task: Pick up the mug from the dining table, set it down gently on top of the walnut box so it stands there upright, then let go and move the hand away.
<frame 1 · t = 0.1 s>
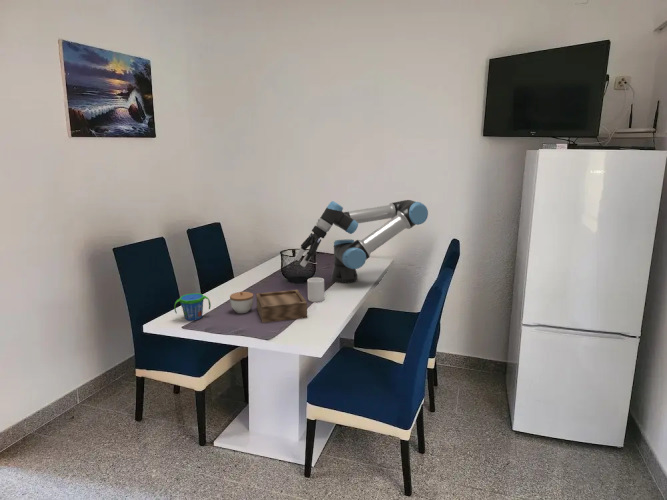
hand: (299, 262, 252), 15 cm above the table, tool tilted 35°, fingers open, 13 cm apart
snack cup: (193, 318, 217), on the table
mug: (317, 299, 242), on the table
lidded jar: (242, 311, 226), on the table
walnut box: (281, 312, 223), on the table
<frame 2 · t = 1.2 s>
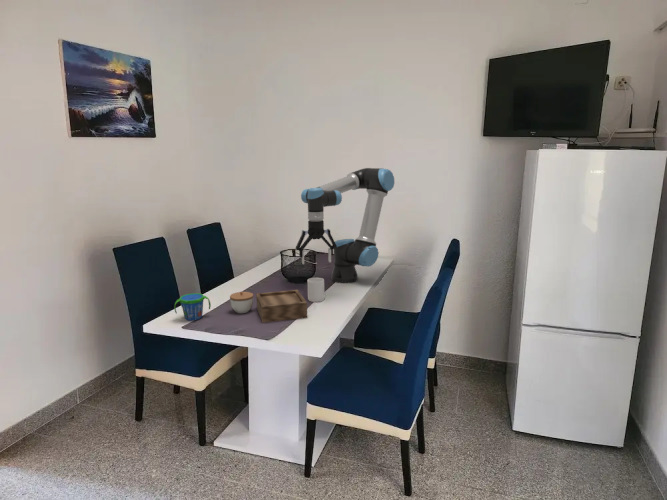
hand: (316, 262, 238), 19 cm above the table, tool pointing down, fingers open, 13 cm apart
nothing on the table moved.
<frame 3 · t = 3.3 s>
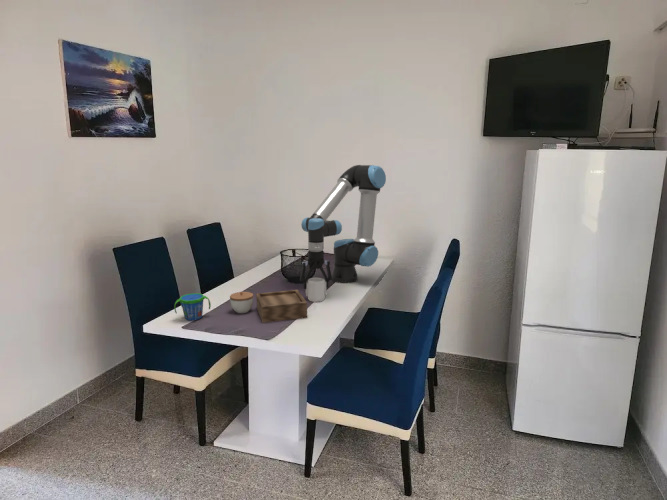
hand: (315, 294, 241), 2 cm above the table, tool pointing down, fingers closed on mug, 9 cm apart
mug: (317, 298, 242), on the table, touching gripper
everything else where it was.
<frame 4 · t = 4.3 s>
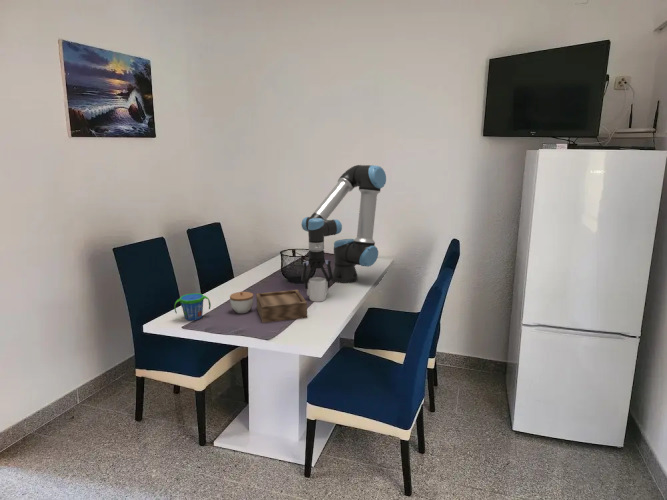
hand: (317, 294, 242), 2 cm above the table, tool pointing down, fingers closed on mug, 9 cm apart
mug: (319, 298, 243), on the table, touching gripper
everything else where it was.
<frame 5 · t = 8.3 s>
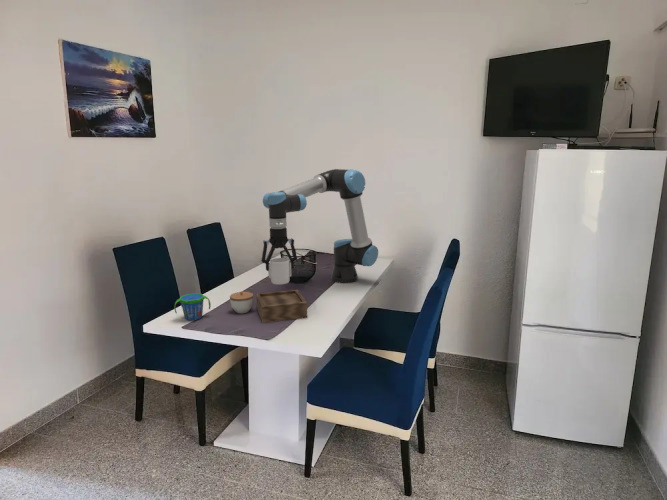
hand: (280, 276, 219), 17 cm above the table, tool pointing down, fingers closed on mug, 9 cm apart
mug: (282, 281, 220), point 15 cm above the table, touching gripper
everything else where it was.
when the fingers open (8 cm above the table, at t = 12.0 s): mug stays where it is, resting on walnut box.
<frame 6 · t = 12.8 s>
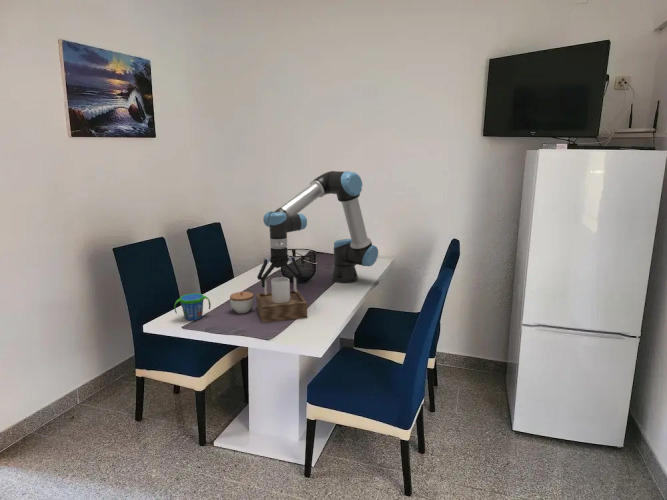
hand: (280, 292, 220), 10 cm above the table, tool pointing down, fingers open, 13 cm apart
mug: (283, 300, 222), point 6 cm above the table, touching walnut box
everything else where it was.
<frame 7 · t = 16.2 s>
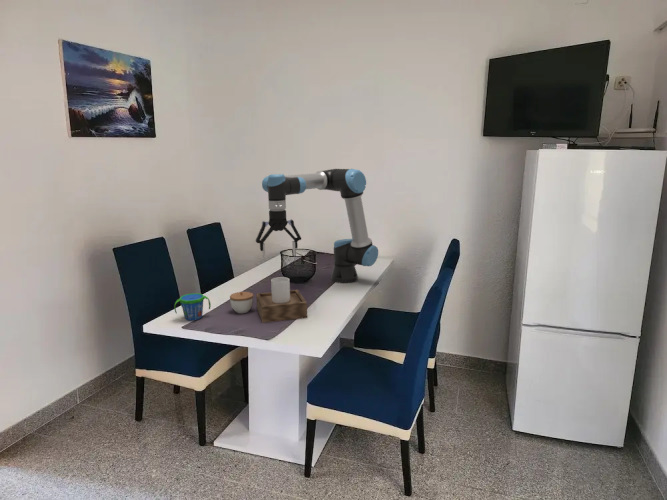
hand: (279, 256, 217), 27 cm above the table, tool pointing down, fingers open, 13 cm apart
nothing on the table moved.
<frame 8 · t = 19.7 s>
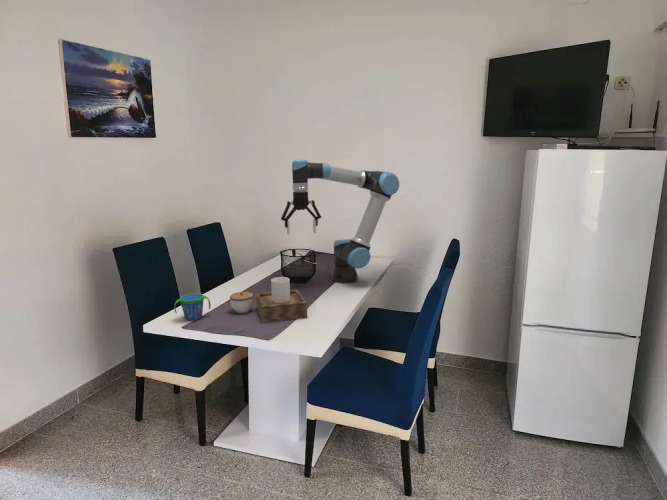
hand: (301, 233, 244), 32 cm above the table, tool pointing down, fingers open, 13 cm apart
nothing on the table moved.
at the end: mug inside the target area on the walnut box (1.0 cm from its centre), point 5.8 cm above the walnut box's base; mug tilted 0°; the gripper is holding nothing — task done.
